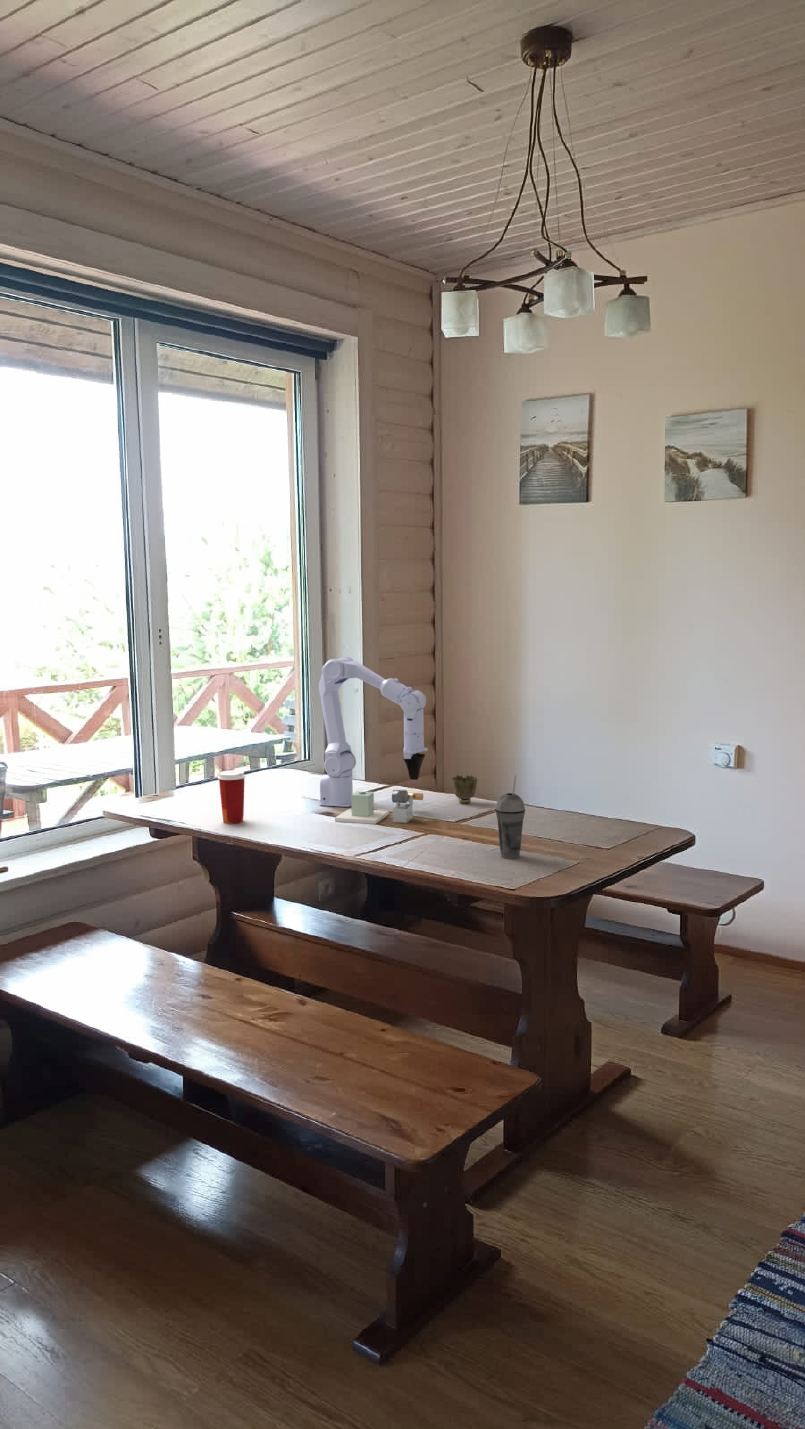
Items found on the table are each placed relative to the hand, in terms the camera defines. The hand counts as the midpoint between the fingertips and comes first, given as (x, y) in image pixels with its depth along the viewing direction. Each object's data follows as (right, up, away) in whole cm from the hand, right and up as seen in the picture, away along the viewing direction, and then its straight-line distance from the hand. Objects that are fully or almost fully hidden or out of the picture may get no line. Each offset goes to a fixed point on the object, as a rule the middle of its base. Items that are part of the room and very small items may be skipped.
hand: (414, 779), depth 292 cm
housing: (-15, -10, -7) cm, 19 cm away
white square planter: (-3, -11, -10) cm, 15 cm away
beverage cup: (+23, -16, -48) cm, 55 cm away
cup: (+15, -8, +10) cm, 20 cm away
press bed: (-15, -11, -7) cm, 19 cm away
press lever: (-2, -6, -7) cm, 9 cm away
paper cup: (-51, -12, -9) cm, 53 cm away
